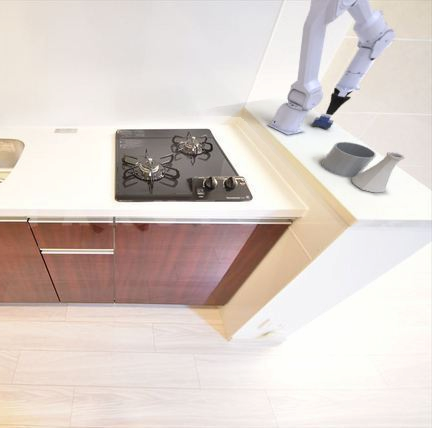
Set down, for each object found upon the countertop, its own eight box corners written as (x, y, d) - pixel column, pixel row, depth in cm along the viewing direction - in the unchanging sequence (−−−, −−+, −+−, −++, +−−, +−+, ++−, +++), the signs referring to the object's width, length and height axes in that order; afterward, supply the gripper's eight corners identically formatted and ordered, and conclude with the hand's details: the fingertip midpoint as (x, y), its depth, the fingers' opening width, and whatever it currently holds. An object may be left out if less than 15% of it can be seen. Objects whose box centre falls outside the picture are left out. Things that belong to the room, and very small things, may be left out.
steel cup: (314, 163, 75) (327, 145, 70) (335, 157, 77) (349, 139, 73) (345, 179, 68) (361, 160, 64) (367, 173, 71) (384, 154, 66)
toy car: (310, 126, 95) (317, 115, 91) (312, 123, 97) (318, 112, 94) (328, 130, 92) (335, 119, 89) (329, 127, 94) (336, 116, 91)
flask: (389, 194, 63) (423, 163, 56) (359, 191, 64) (389, 160, 57) (373, 179, 68) (402, 149, 61) (345, 177, 69) (371, 146, 62)
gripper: (369, 78, 74) (340, 119, 84) (370, 69, 82) (344, 108, 92) (342, 74, 78) (318, 115, 87) (346, 66, 86) (323, 104, 95)
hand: (330, 111), depth 90 cm, fingers open, 7 cm apart
